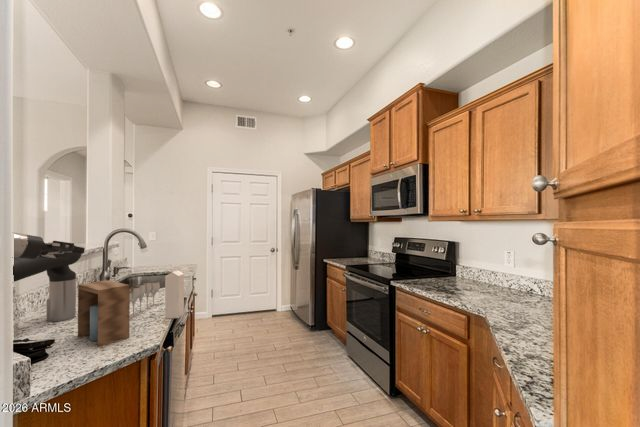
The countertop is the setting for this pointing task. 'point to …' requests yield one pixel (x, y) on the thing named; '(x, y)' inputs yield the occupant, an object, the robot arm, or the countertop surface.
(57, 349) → the countertop surface
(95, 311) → the grey-blue cylinder
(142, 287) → the goblet set
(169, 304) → the milk
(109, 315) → the open wooden box
